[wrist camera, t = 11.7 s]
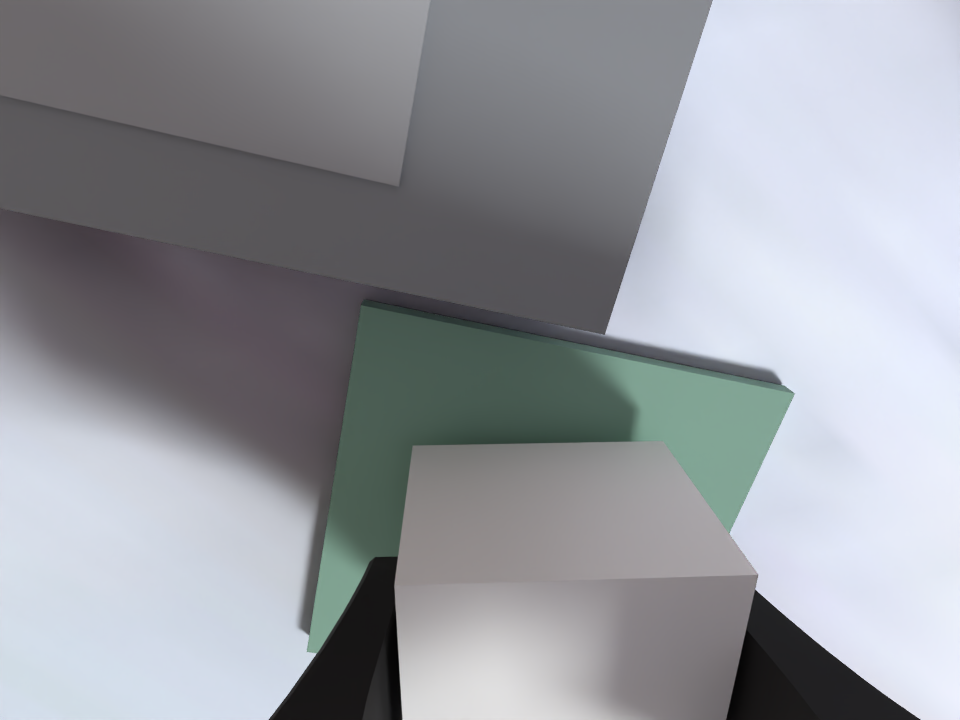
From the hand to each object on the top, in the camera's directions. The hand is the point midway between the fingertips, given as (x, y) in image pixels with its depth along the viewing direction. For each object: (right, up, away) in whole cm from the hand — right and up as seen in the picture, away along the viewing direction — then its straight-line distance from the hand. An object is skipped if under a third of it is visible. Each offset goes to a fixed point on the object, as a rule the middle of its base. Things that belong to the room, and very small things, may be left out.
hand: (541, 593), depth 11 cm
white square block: (0, +1, +1) cm, 1 cm away
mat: (0, +1, +2) cm, 2 cm away
